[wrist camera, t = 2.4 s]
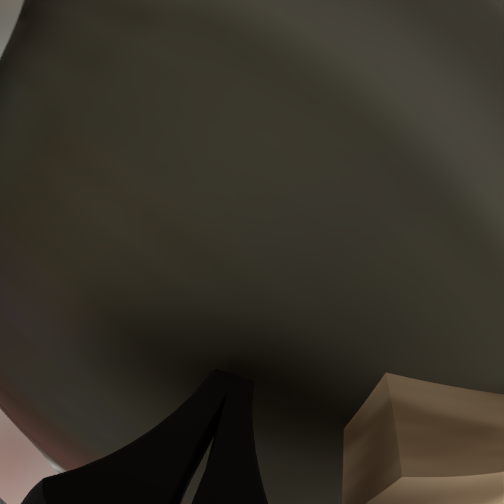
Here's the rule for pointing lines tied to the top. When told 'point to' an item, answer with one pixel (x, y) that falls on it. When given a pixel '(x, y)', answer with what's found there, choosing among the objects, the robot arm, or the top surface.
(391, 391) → the brown wooden block
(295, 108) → the top surface
